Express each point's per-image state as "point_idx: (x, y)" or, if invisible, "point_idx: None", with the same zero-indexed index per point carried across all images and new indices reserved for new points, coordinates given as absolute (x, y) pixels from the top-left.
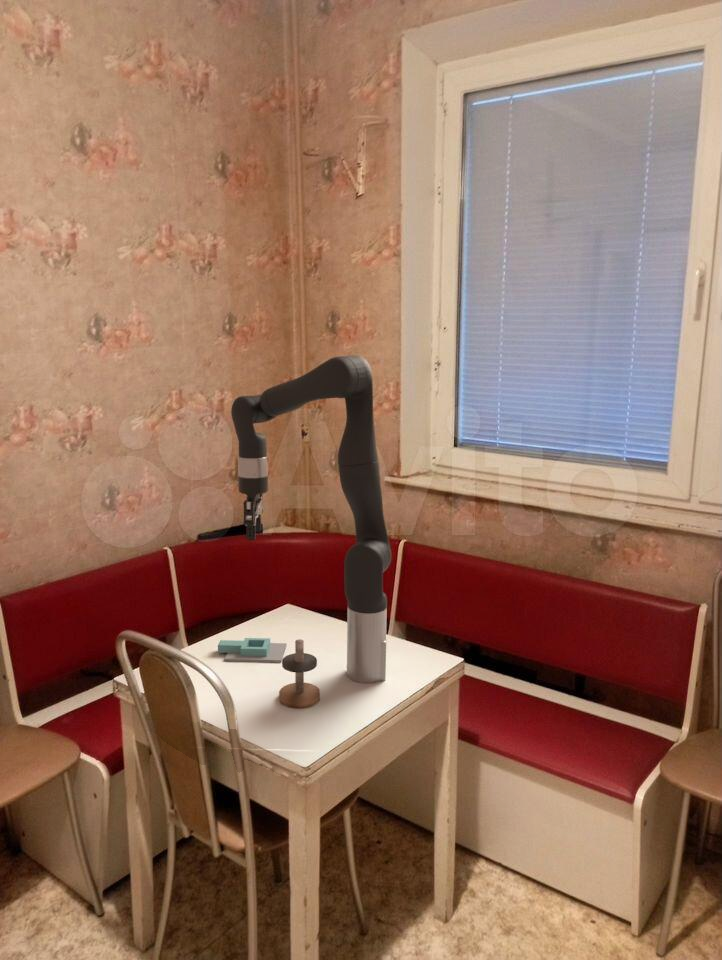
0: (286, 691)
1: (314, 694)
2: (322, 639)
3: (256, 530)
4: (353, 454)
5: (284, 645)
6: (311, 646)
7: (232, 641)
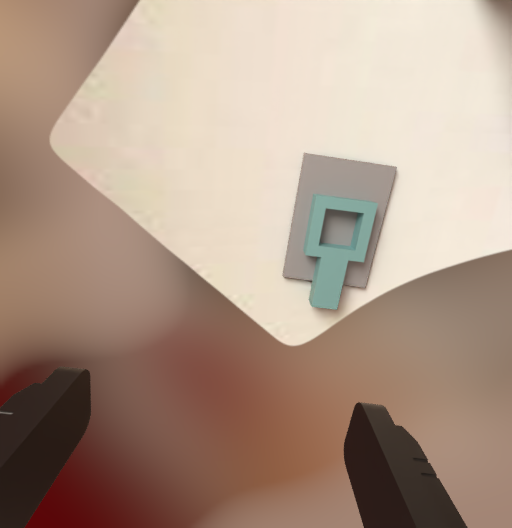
0: None
1: None
2: (271, 51)
3: (86, 400)
4: None
5: (317, 158)
6: (312, 86)
7: (322, 281)
